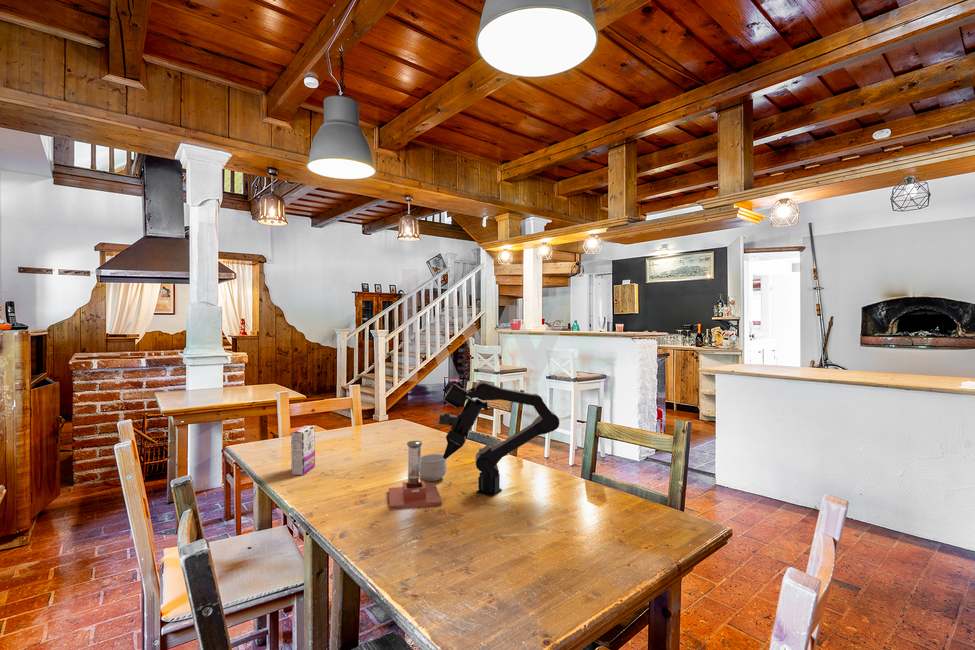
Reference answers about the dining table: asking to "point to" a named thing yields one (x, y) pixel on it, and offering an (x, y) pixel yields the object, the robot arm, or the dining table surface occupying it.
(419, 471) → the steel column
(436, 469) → the teacup
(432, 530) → the dining table surface
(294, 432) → the candy bar box
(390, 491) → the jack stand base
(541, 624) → the dining table surface
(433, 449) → the dining table surface
